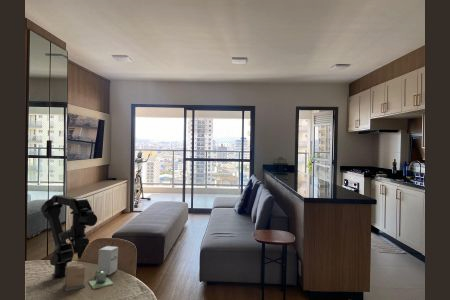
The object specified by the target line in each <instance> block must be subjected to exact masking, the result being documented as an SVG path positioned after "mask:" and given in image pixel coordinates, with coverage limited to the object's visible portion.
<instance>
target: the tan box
mask: <svg viewBox="0 0 450 300" xmlns="http://www.w3.org/2000/svg"><path fill="white" fill-rule="evenodd" d="M85 269H86V268H85V266H84V265H83V263H79V264H74V265H67V266H66V271H65V277H64V283H63V285H62V287H63V288H64V290H65V292H69V291H74V290H80V289H84V288H86V284H85V271H86V270H85Z"/></svg>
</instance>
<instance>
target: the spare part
mask: <svg viewBox="0 0 450 300" xmlns="http://www.w3.org/2000/svg"><path fill="white" fill-rule="evenodd" d="M106 278H107V275H106V270H99V271H98V270H96V272H95V280H96V284H103V283H105V282H106Z"/></svg>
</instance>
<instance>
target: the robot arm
mask: <svg viewBox="0 0 450 300" xmlns="http://www.w3.org/2000/svg"><path fill="white" fill-rule="evenodd" d="M63 206H66V207H67V206H68V207H69V209H70V210H72V211H71V212H70V215H72V221H71V222H72V223H71V226H70V229H66V230H63V226H62V224H61V219H60V214H61V212H62V208H63ZM40 210H41V213H42V215H43V217H44V219H46V220H48V223H49V226H50V229H51V234H52V238H53V242H54V246H55V247H54V249H53V255H52V257H51V259H50V260H49V263H50V266H54V267H53V268H54V269H53V270H54V271H53V272H54V273H53V272H52V277H53V279H57V278H65V271H66V266H68V263H71V262H72V261H73V258H74V255H76V254H77V259H81V258H82V256H83V254H84V252H85V250H86V248H87V246H88V245H89V243H90V239H89V238H88V237H87V235H86V228H87V226H88V227H94V226H95V225H96V224H97V223H98V217H97V215H96V214H95V212H94V211H93V209H92V207H91V204H90V201H89V200H88V198H86V197H78V198H77V197H76V198H75V197H71V196H67V195H63V194H55V195H52V197H51V198H49V199H47V200H46V201H45V202H44V203H43V204H42V206H41V208H40ZM66 240H68V241H69V242H70V243H68V242H67V241H66Z"/></svg>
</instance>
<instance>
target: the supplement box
mask: <svg viewBox="0 0 450 300" xmlns="http://www.w3.org/2000/svg"><path fill="white" fill-rule="evenodd" d="M97 255H98V258H97V259H98V260H97V271H99V270H106V276H107V275H108V276H109V275H112V274H113V273H114V272H117V271H116V270H118V259H119V247H118V246H113V245H112V246H111V245H106V246H104V247H102V248H99V249H98V254H97Z"/></svg>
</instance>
